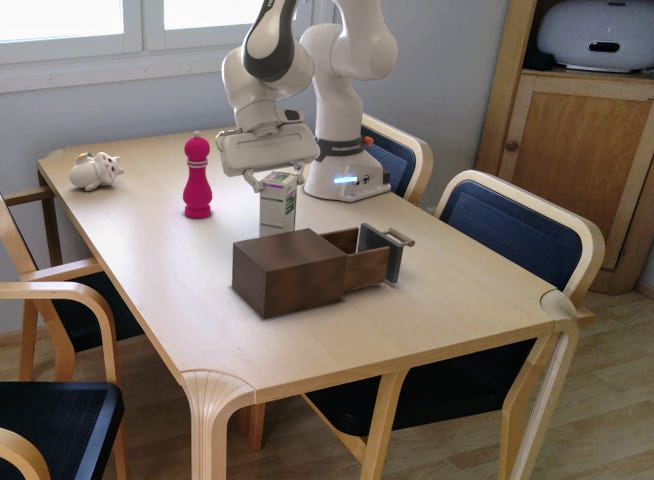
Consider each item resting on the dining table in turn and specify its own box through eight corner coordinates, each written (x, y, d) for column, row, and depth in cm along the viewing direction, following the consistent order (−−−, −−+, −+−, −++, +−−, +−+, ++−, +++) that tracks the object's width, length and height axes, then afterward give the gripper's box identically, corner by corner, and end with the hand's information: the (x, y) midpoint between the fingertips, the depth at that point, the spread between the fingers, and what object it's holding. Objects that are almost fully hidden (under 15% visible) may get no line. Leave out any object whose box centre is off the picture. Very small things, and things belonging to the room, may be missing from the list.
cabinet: (305, 271, 139) (309, 227, 133) (341, 301, 128) (347, 254, 123) (231, 287, 134) (232, 242, 128) (263, 319, 123) (266, 271, 118)
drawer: (380, 253, 143) (386, 218, 138) (418, 278, 133) (425, 241, 129) (295, 271, 137) (298, 235, 133) (328, 298, 127) (332, 260, 123)
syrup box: (283, 251, 139) (287, 183, 131) (257, 245, 142) (259, 178, 134) (294, 241, 143) (299, 174, 135) (269, 235, 146) (272, 169, 138)
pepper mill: (209, 220, 162) (210, 135, 151) (180, 218, 164) (178, 134, 153) (214, 208, 168) (214, 126, 157) (186, 207, 170) (184, 126, 158)
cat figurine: (65, 156, 176) (118, 141, 180) (61, 164, 184) (112, 150, 188) (77, 192, 177) (130, 176, 181) (73, 198, 185) (123, 183, 189)
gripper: (217, 124, 131) (238, 189, 129) (309, 110, 137) (331, 172, 135) (208, 141, 137) (228, 203, 135) (297, 127, 143) (317, 187, 141)
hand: (280, 187), depth 135 cm, fingers closed on syrup box, 8 cm apart
